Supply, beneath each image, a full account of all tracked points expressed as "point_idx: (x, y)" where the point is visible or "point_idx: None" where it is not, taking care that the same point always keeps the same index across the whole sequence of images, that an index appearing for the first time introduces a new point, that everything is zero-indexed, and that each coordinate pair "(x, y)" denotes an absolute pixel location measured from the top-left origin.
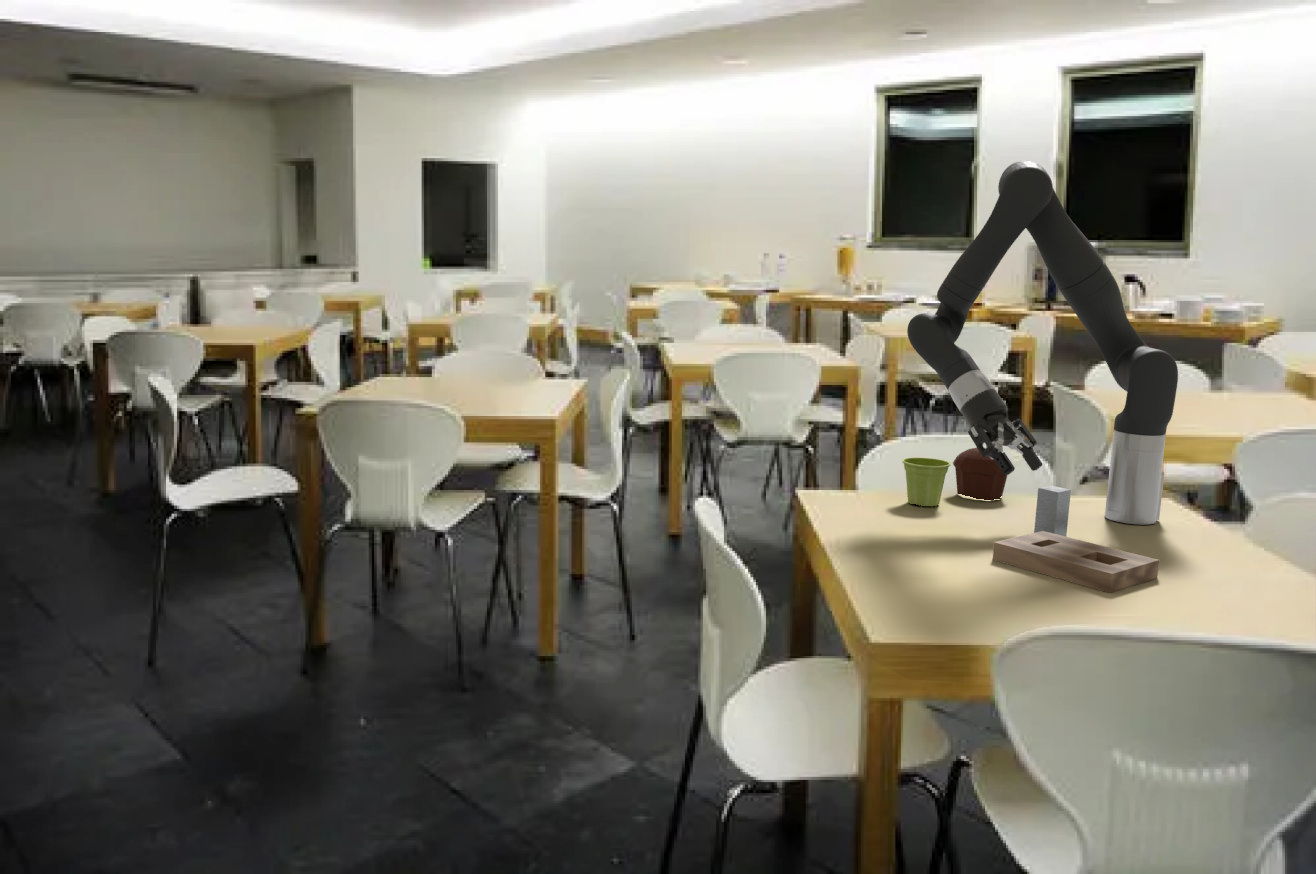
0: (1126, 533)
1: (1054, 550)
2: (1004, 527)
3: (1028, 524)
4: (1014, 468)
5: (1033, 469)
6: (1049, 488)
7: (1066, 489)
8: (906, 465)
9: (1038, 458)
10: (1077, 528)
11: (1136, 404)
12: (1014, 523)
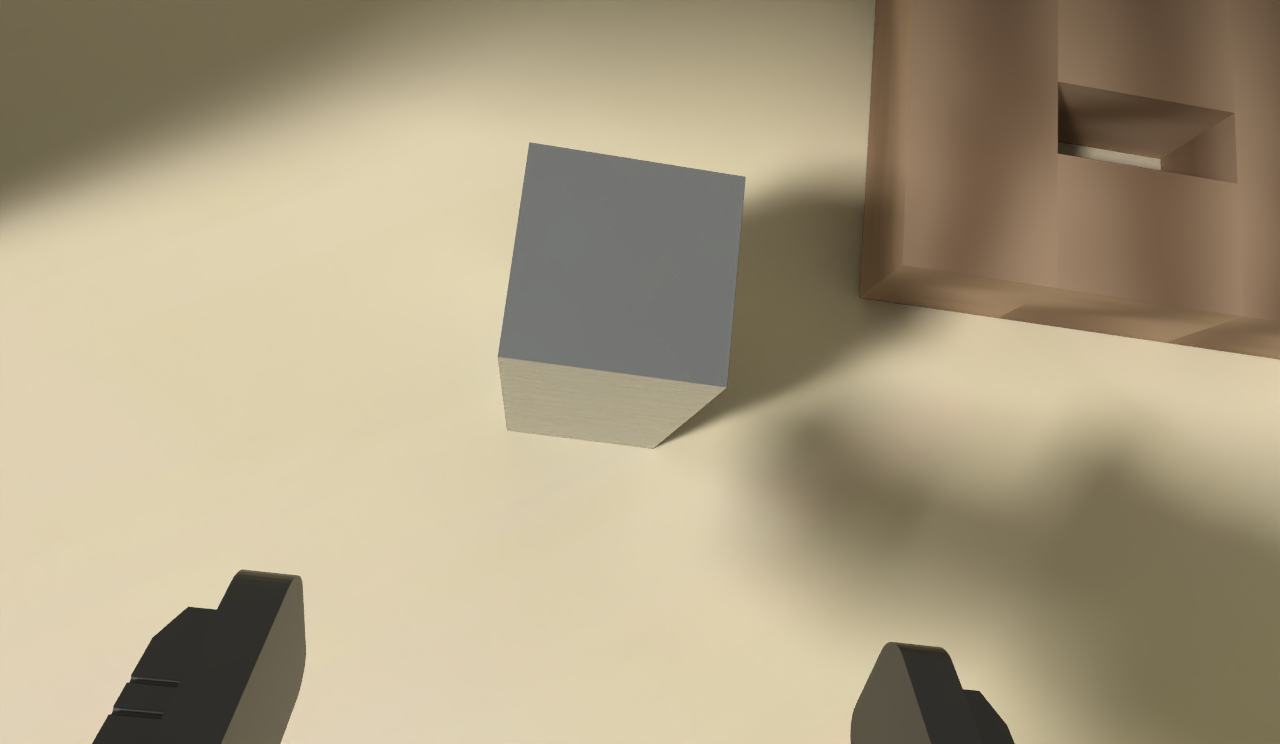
0: (51, 83)
1: (1233, 38)
2: (575, 713)
3: (342, 646)
4: (899, 644)
5: (302, 668)
6: (658, 301)
7: (556, 174)
8: None
9: (216, 642)
10: (173, 356)
11: None
12: (398, 732)
